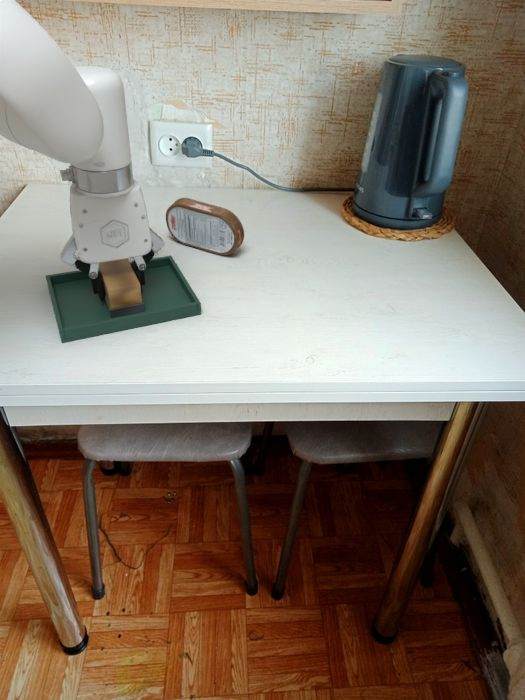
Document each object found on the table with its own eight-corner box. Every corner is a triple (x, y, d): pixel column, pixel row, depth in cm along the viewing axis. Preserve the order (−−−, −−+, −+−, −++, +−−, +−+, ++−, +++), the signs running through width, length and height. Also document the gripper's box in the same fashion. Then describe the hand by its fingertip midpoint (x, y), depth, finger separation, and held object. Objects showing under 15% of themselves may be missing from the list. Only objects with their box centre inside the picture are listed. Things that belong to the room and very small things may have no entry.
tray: (61, 343, 70) (59, 331, 69) (48, 286, 80) (45, 275, 79) (201, 314, 77) (200, 303, 76) (171, 266, 88) (171, 255, 86)
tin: (244, 255, 92) (246, 211, 87) (236, 262, 90) (237, 218, 85) (173, 234, 97) (171, 191, 91) (164, 241, 94) (161, 197, 89)
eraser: (110, 318, 74) (106, 291, 71) (97, 283, 81) (93, 257, 78) (144, 311, 76) (142, 285, 73) (129, 278, 83) (126, 252, 80)
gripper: (36, 194, 61) (65, 317, 72) (175, 179, 67) (181, 295, 78) (30, 171, 66) (58, 290, 77) (159, 159, 72) (167, 271, 83)
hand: (119, 291), depth 78 cm, fingers closed on eraser, 5 cm apart
